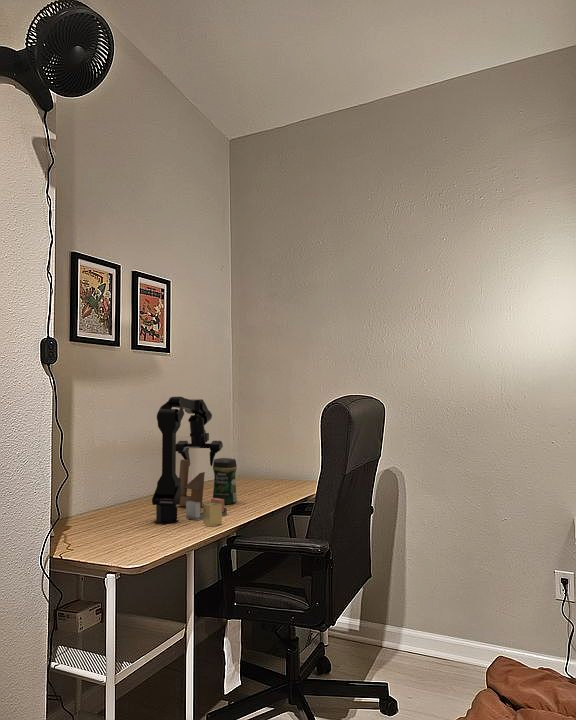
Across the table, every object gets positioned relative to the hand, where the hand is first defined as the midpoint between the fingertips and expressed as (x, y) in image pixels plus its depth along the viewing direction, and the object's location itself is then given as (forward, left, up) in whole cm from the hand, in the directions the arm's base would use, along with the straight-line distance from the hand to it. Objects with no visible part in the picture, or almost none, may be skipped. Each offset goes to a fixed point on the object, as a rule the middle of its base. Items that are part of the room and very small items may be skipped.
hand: (200, 465), depth 247 cm
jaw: (-7, -21, -15) cm, 27 cm away
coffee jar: (+10, -3, -16) cm, 19 cm away
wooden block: (-6, 0, -16) cm, 17 cm away
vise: (-12, -21, -16) cm, 29 cm away
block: (-19, -34, -16) cm, 42 cm away
